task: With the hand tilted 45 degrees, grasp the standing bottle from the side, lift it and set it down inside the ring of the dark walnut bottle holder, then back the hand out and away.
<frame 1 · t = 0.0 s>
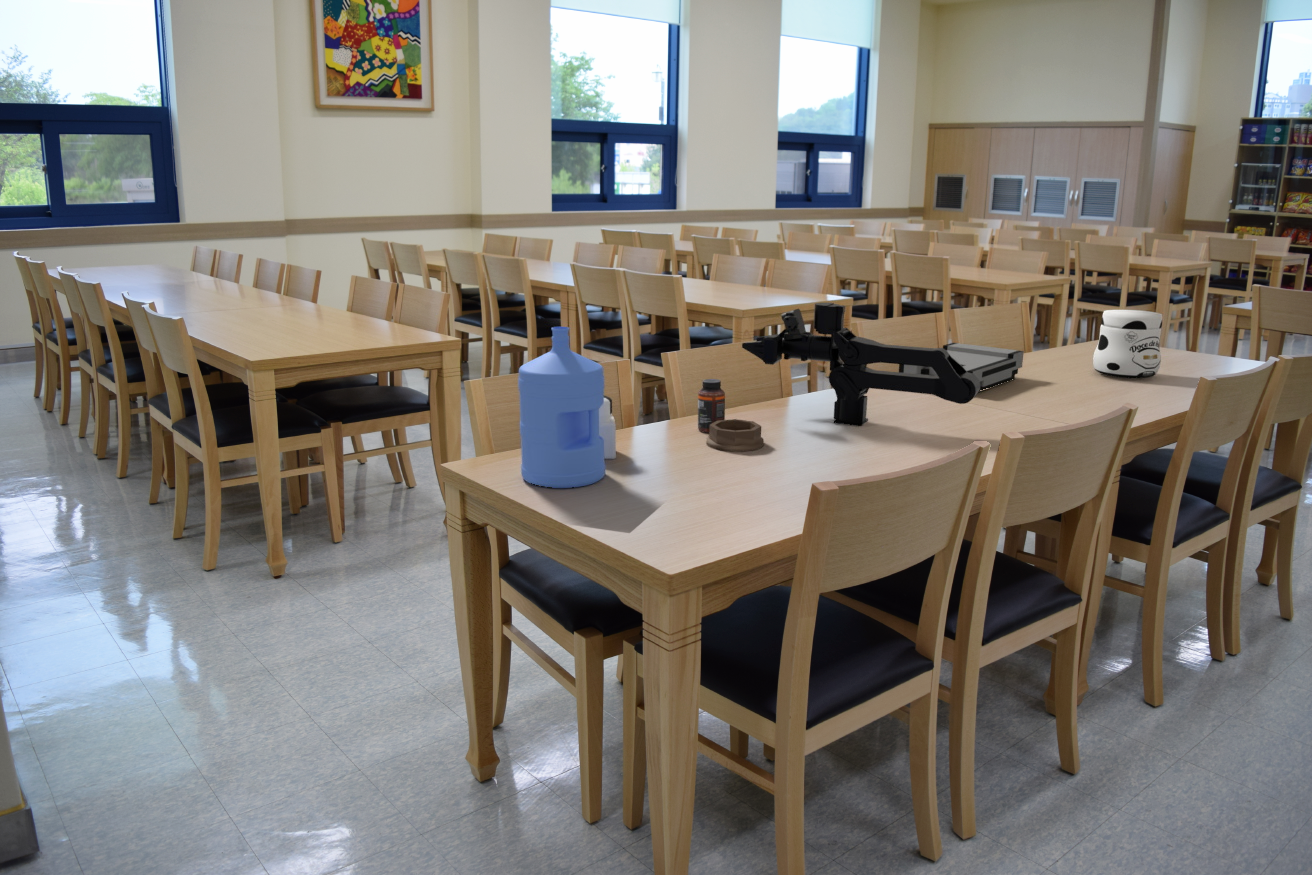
hand: (749, 342, 229), 17 cm above the table, tool horizontal, fingers open, 9 cm apart
game console: (960, 384, 267), on the table
medicine bottle: (597, 455, 196), on the table
bottle holder: (734, 443, 204), on the table
water jug: (563, 477, 181), on the table
supplement bottle: (711, 431, 215), on the table
cow print jar: (1124, 376, 276), on the table
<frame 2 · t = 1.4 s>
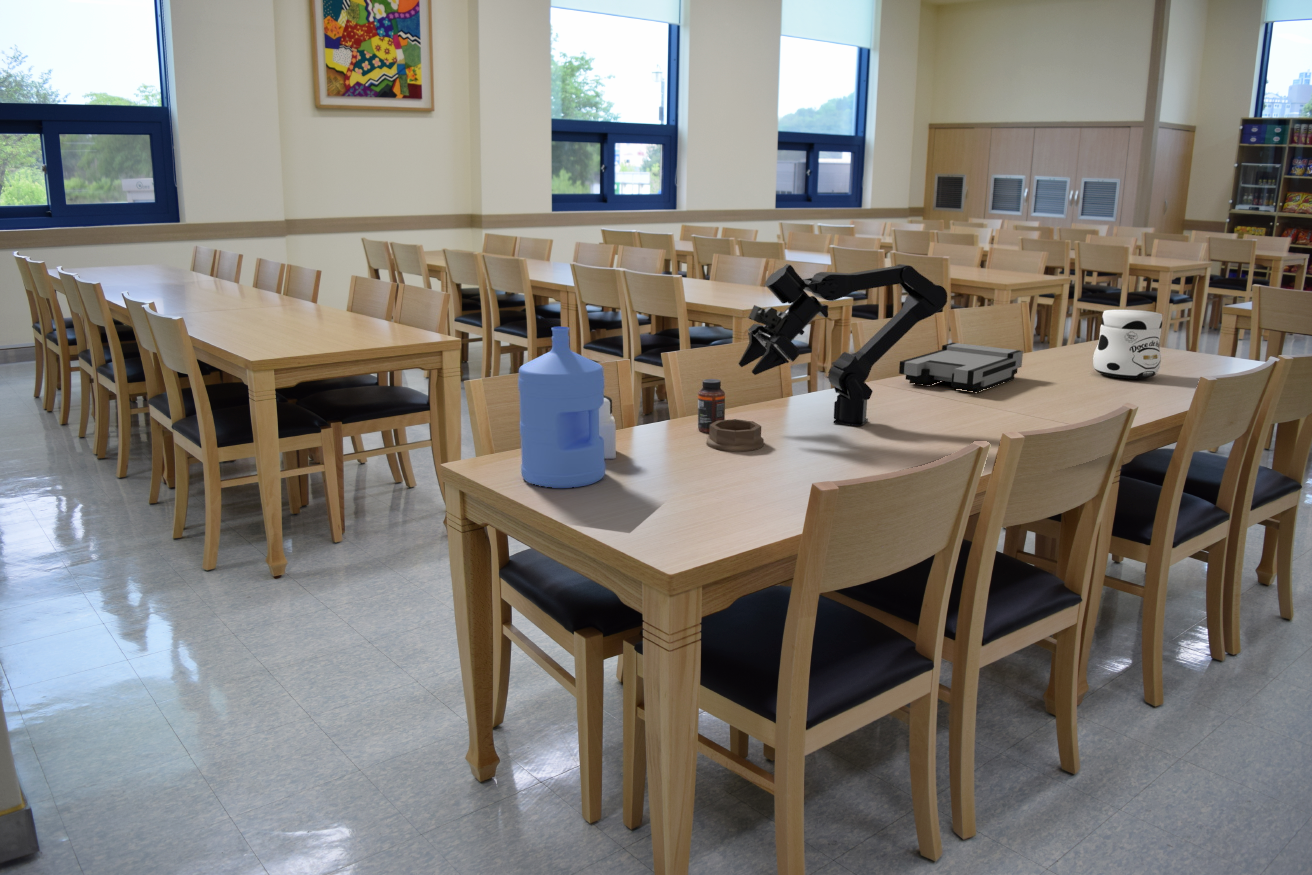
hand: (746, 369, 213), 13 cm above the table, tool tilted 45°, fingers open, 9 cm apart
nothing on the table moved.
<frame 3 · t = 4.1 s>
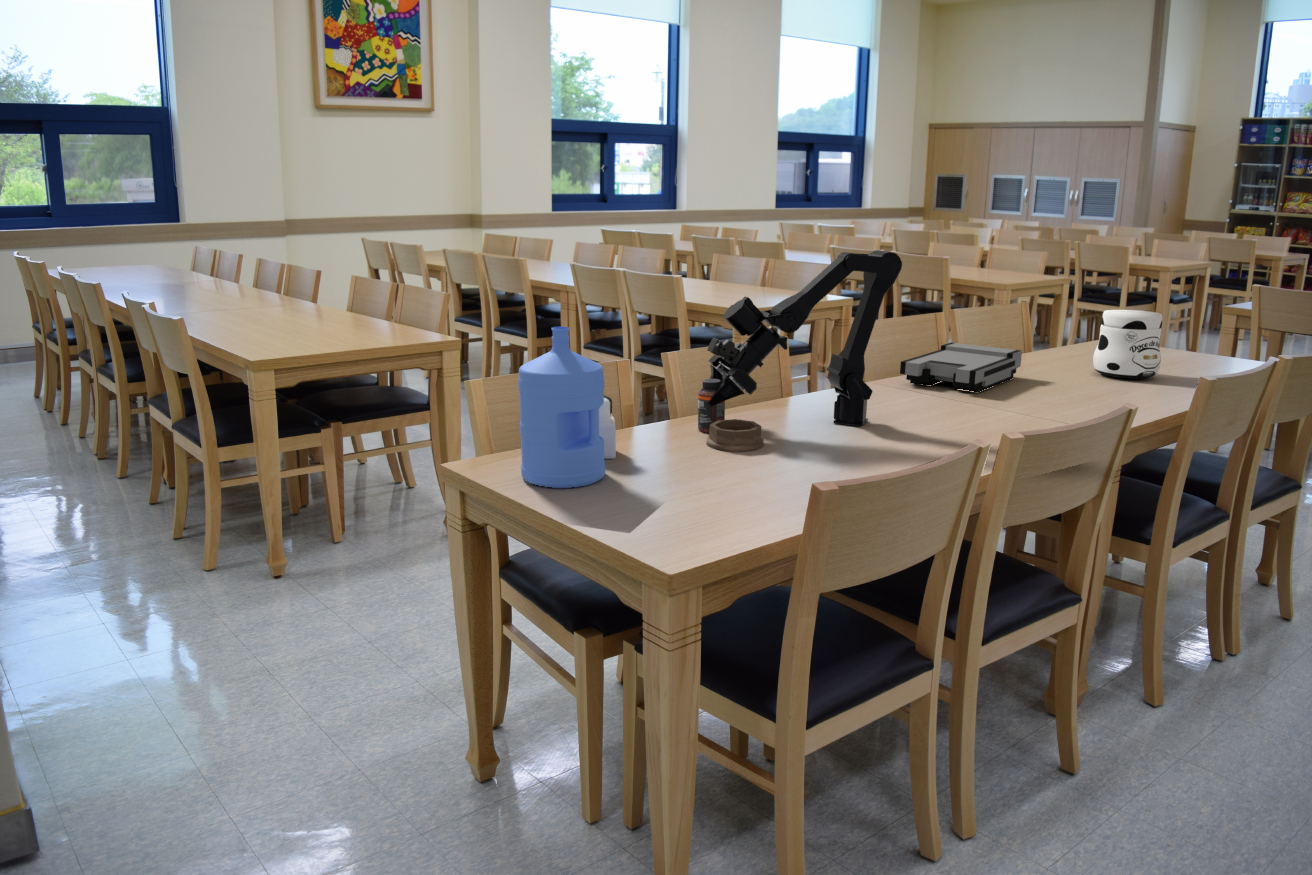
hand: (705, 401, 213), 7 cm above the table, tool tilted 45°, fingers closed on supplement bottle, 6 cm apart
supplement bottle: (711, 431, 215), on the table, touching gripper
everything else where it was.
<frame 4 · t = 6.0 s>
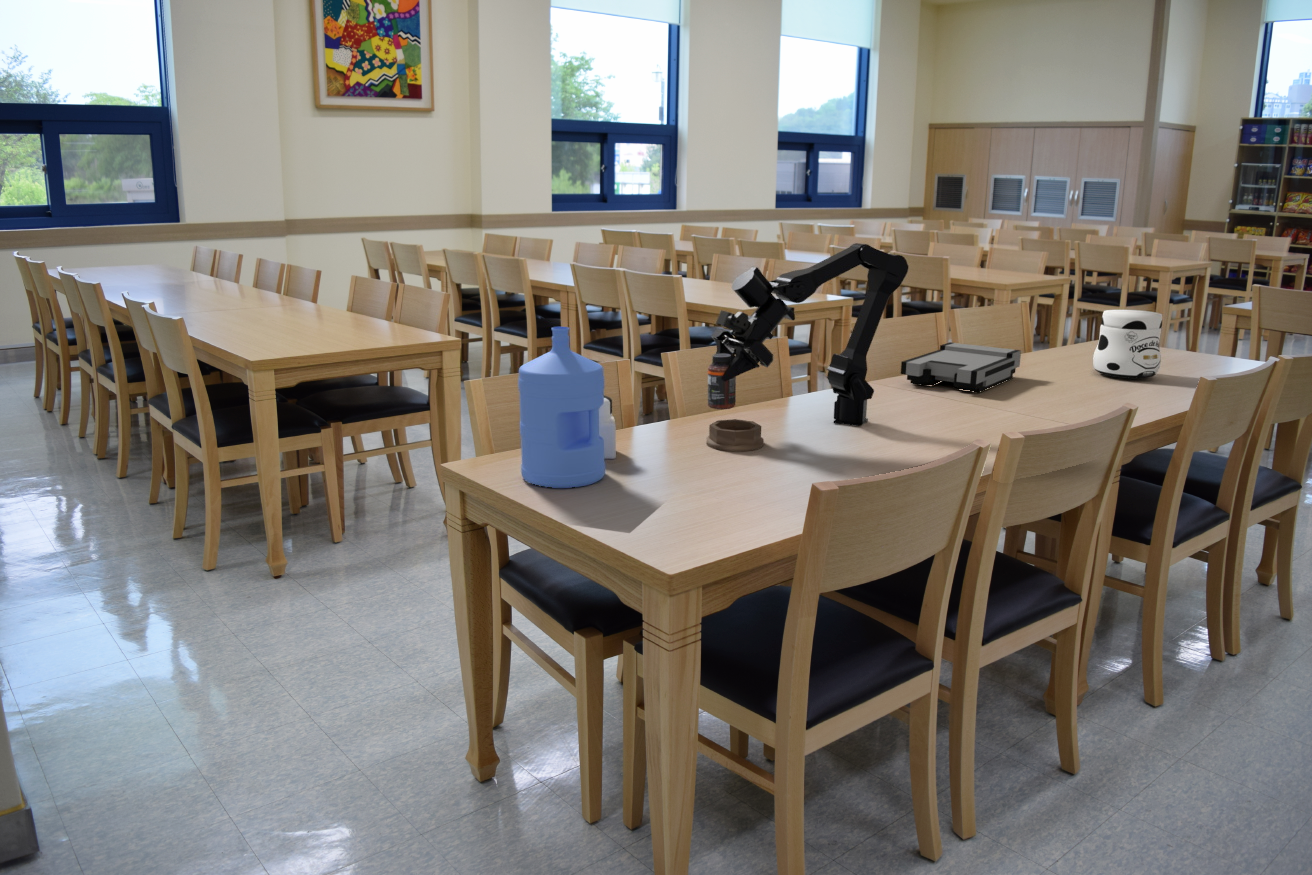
hand: (716, 377, 206), 13 cm above the table, tool tilted 45°, fingers closed on supplement bottle, 6 cm apart
supplement bottle: (721, 407, 208), point 6 cm above the table, touching gripper
everything else where it was.
when the fingers open (8 cm above the table, at t = 8.2 s): supplement bottle stays where it is, resting on bottle holder.
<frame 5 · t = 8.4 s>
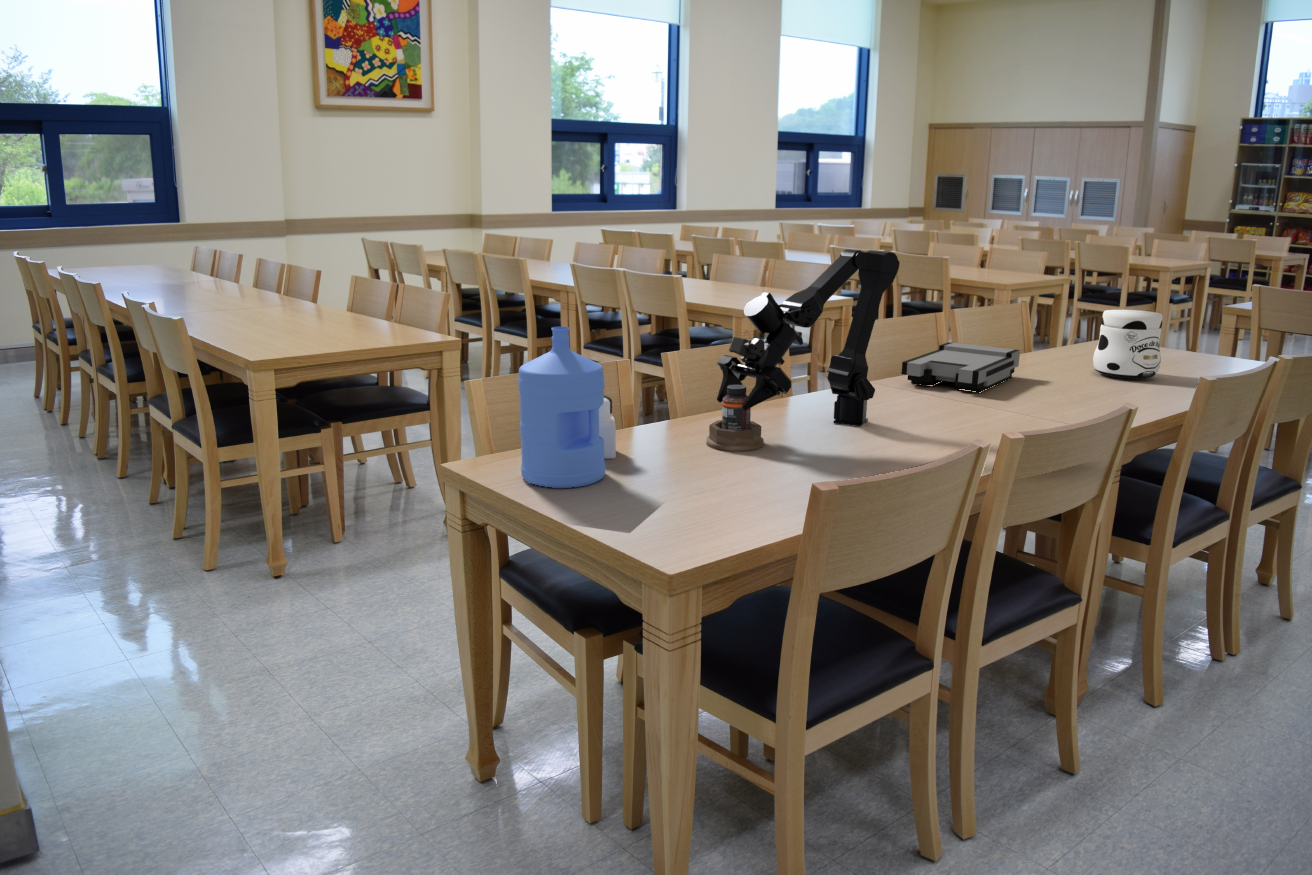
hand: (730, 405, 201), 9 cm above the table, tool tilted 45°, fingers open, 8 cm apart
supplement bottle: (735, 439, 204), point 1 cm above the table, touching bottle holder
everything else where it was.
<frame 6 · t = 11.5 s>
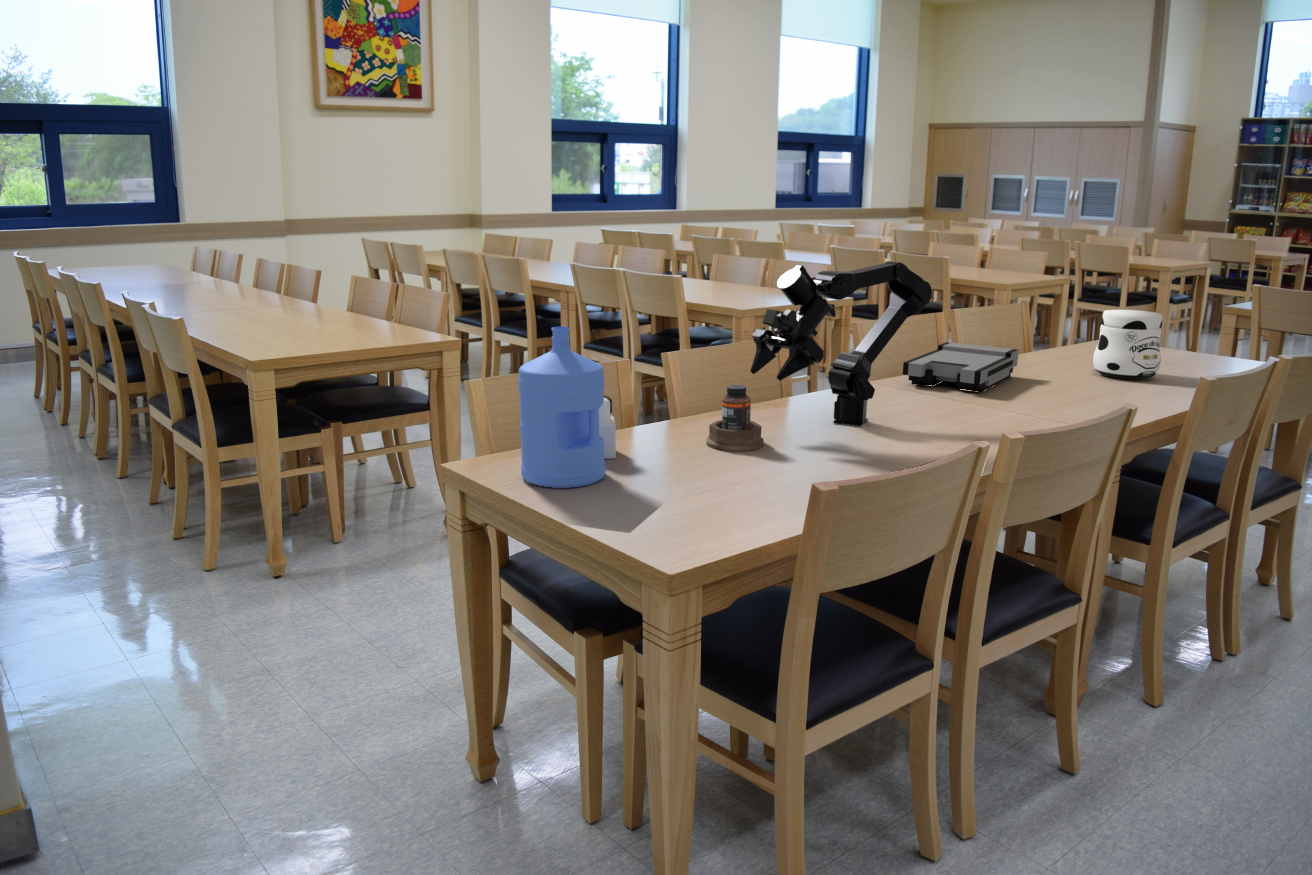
hand: (764, 375, 206), 14 cm above the table, tool tilted 45°, fingers open, 9 cm apart
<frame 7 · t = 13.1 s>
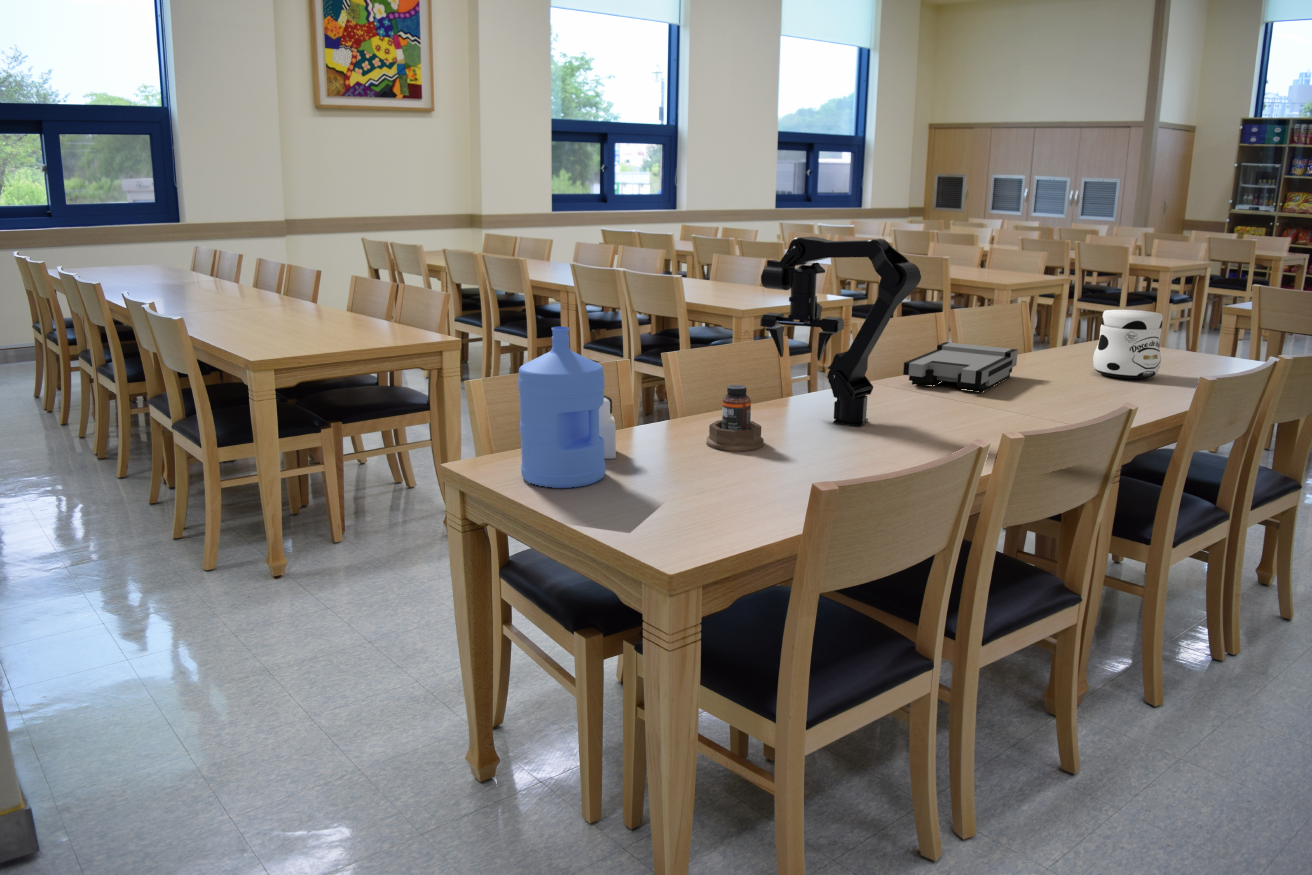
hand: (800, 358, 229), 13 cm above the table, tool pointing down, fingers open, 9 cm apart
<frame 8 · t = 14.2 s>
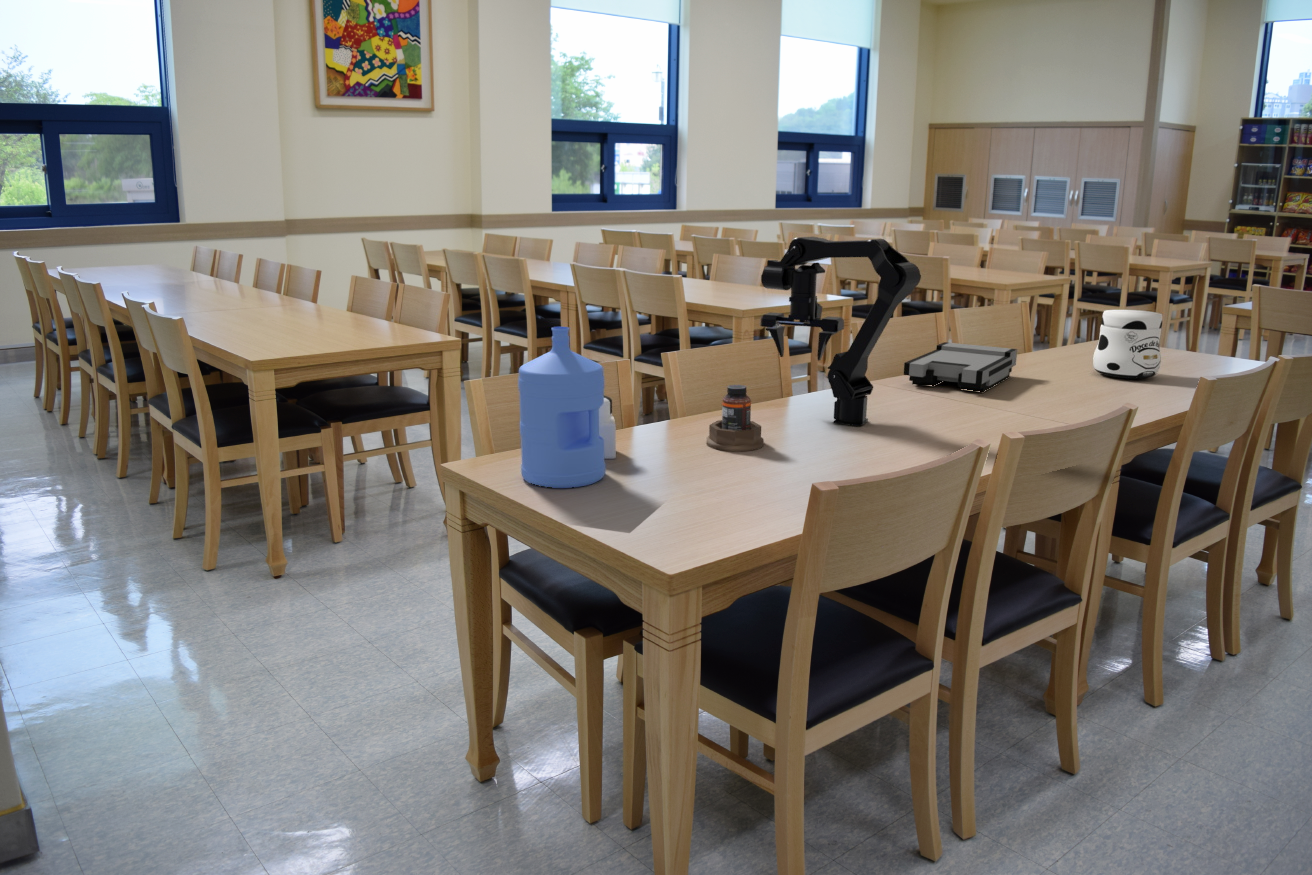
hand: (800, 358, 229), 13 cm above the table, tool pointing down, fingers open, 9 cm apart
nothing on the table moved.
at the end: supplement bottle 0.2 cm off-centre on the bottle holder, point 0.8 cm above the bottle holder's base; supplement bottle tilted 0°; the gripper is holding nothing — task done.
